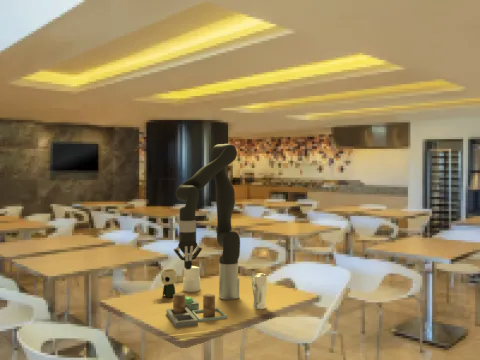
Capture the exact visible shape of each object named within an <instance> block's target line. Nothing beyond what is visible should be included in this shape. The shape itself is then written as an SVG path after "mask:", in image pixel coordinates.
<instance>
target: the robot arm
mask: <svg viewBox="0 0 480 360" xmlns="http://www.w3.org/2000/svg"><path fill="white" fill-rule="evenodd" d="M211 152H212V153H211V159H212V161H211V162H209V163H207V164H206V165H204V166H202V167H201V168H199V170H197V171H196V172H195V174H193V176H192V177H191V178H188V179H186V180H185V181H184V182H183V183H181V184H180V185H179V186H178V187H177V189H176V190H175V196H176V198H177V200H178V201H181V202H186V203H185V205H184V206H182V207H180V209H179V223H178V232H179V233H178V244H177V247H175V248H173V252H174V253H175V255H177V257H178V258H179V259H180V260H181V261H184V262H183V264H184V265H183V268H184V267H185V268H186V269H187V270H188V269H190V268H191V267H192V266H193V265H192V263H193V260H196V259H197V258H198V256H199V254H200V253H201V251H202V250H203V248H202V247H201V246H199V245H198V243H197V222H196V210H197V206H198V202H199V199H200V192H199V191H201V190H202V189H204V188H205V186H206V185H207V184H208V183H209V182H210V181H211V180H212V179H213V178H214V181H215V183H214V184H215V200H216V201H215V203H216V217H217V223H216V224H217V227H216V241H217V244H218V245H219V246H220V247H221V248H222V255H220V256H219V259H218V266H219V267H218V268H219V269H218V270H219V271H218V279H219V280H218V281H219V282H218V297H219V299H221V300H226V301H227V300H228V301H229V300H230V301H232V300H233V301H234V300H237V299H239V298H240V278H239V258H240V256H241V255H240V253H241V238H240V234H239V233H238V232H236V231H235V230H233V229H232V215H233V213H234V208H235V205H236V204H235V203H236V197H235V195H236V193H235V188H234V185H233V183H232V182H231V179H230V178H229V176H228V175H227V171H226V167H228V166H229V165H231V164H232V163H233V162H234V161H235V160H236V158H237V157H238V156H237V155H238V151H237V147H236V146H235V145H234V144H231V143H224V144H223V143H221V144H216V145H214V146H213V147H212V151H211ZM180 252H182V254H183V256H182V254H181V253H180Z"/></svg>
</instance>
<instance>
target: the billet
mask: <svg viewBox="0 0 480 360" xmlns="http://www.w3.org/2000/svg"><path fill="white" fill-rule="evenodd" d="M202 297H203V298H202V302H203V303H202V304H203V305H202V309H203V312H202V316H203V318H210V317H216V311H215V308H216V295H215V294H212V293H206V294H204V295H203V296H202Z"/></svg>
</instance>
